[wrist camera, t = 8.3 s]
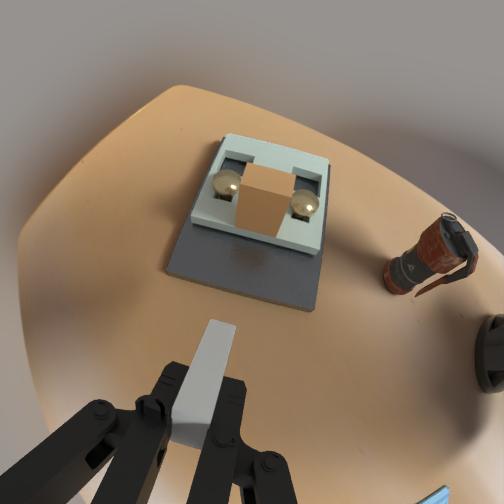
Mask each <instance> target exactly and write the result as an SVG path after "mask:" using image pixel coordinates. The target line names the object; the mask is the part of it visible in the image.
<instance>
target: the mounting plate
mask: <svg viewBox="0 0 504 504" xmlns="http://www.w3.org/2000/svg"><path fill="white" fill-rule="evenodd" d="M225 138H226V137H223V139H222V141H221V143H220V145H219V147H218V149H217V151H216V153H215V155H214V157H213V159H212V162H211V164H210V166H209V168H208V170H207V172H206V174H205V177H204V179H203V181H202V183H201V186H200V188H199V190H198V192H197V195H196V197H195V199H194V202H193V204H192V206H191V209H190V211H189V213H188V216H187V218H186V221H185V223H184V225H183V228H182V230H181V233H180V235H179V238H178V240H177V243H176V245H175V248H174V251H173V253H172V256H171V258H170V261H169V264H168V266H167V269H166V272H167V274H168V275H170V276H173V277H176V278H180V279H183V280H187V281H190V282H194V283H197V284H201V285H204V286H208V287H211V288H215V289H219V290H222V291H226V292H230V293H234V294H237V295H241V296H245V297H249V298H253V299H257V300H261V301H265V302H269V303H273V304H277V305H281V306H285V307H289V308H293V309H298V310H302V311H306V312H312V311H313V310H314V308H315V302H316V296H317V289H318V282H319V275H320V268H321V260H322V252H323V244H324V235H325V226H326V216H327V205H328V194H329V181H330V165H329V164H328V174H327V187H326V198H325V208H324V218H323V227H322V236H321V244H320V250H319V251H318V253H317V254H316V255H313V254H309V253H306V252H302V251H298V250H295V249H291V248H287V247H283V246H280V245H276V244H272V243H268V242H265V241H261V240H257V239H253V238H249V237H245V236H242V235H238V234H234V233H230V232H226V231H222V230H218V229H215V228H211V227H207V226H203V225H199V224H195V223H192V222H191V213H192V211H193V209H194V206H195V204H196V201H197V199H198V197H199V194H200V192H201V190H202V188H203V185H204V183H205V181H206V178H207V176H208V174H209V172H210V170H211V167H212V165H213V163H214V161H215V159H216V157H217V154H218V152H219V150H220V148H221V146H222V144H223V142H224V140H225ZM246 165H247V162H244V161H240V160H235V159H231V158H227V157H225V159H224V161H223V163H222V165H221V168H220V170H219V171H218V172H217V173H216V174H215V175H214V176H213V179H212V187H213V190H214V191H215V192H216V193H217V196H216V199H220V200H224V201H228V202H232V199H233V196H234V195H235V194H237V193H238V192H239V186H240V182H241V177H242V176H243V173H244V170H245V168H246ZM240 176H241V177H240ZM318 185H319V182H318V181H315V180H311V179H308V178H305V177H301V176H298V175H296V178H295V184H294V189H293V190H295V192H294V193H293V194H292V199H291V201H290V207H291V209H292V214H291V218H293V219H297V220H300V221H304V222H307V217H311V216H313V215H314V214H315V213H316V211H317V209H318V208H319V200H318V198H317V194H318Z"/></svg>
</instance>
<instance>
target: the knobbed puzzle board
mask: <svg viewBox="0 0 504 504" xmlns="http://www.w3.org/2000/svg"><path fill="white" fill-rule="evenodd" d="M225 157H227V158H231V159H235V160H240V161H244V162H247V165H246V168H245V170H244V173H243V176H242V177H241V176H240V177H241V182H240V186H239V192H238V193H237V194H235V195H234V196H233V199H232V202H228V201H224V200H220V199H216V196H217V193H216V192H215V191H214V190H213V187H212V179H213V176H214V175H215V174H216V173H217V172H218V171H219V170H220V168H221V165H222V163H223V161H224V159H225ZM328 160H329V159H326V158H323V157H319V156H316V155H313V154H309V153H306V152H303V151H299V150H296V149H292V148H289V147H285V146H281V145H277V144H273V143H269V142H265V141H261V140H257V139H253V138H249V137H244V136H240V135H235V134H230V133H228V134H227V136H226V138H225V140H224V142H223V144H222V146H221V148H220V150H219V152H218V154H217V157H216V159H215V161H214V163H213V165H212V167H211V170H210V172H209V174H208V176H207V178H206V181H205V183H204V185H203V188H202V190H201V192H200V194H199V197H198V199H197V201H196V204H195V206H194V209H193V211H192V213H191V222H192V223H195V224H199V225H203V226H207V227H211V228H215V229H218V230H222V231H226V232H230V233H234V234H238V235H242V236H245V237H249V238H253V239H257V240H261V241H265V242H268V243H272V244H276V245H280V246H283V247H287V248H291V249H295V250H298V251H302V252H306V253H309V254H313V255H316V254H317V253H318V251H319V250H320V244H321V236H322V227H323V218H324V208H325V198H326V187H327V174H328ZM296 175H298V176H301V177H305V178H308V179H311V180H315V181H318V182H319V185H318V194H317V198H318V200H319V208H318V209H317V211H316V213H315V214H314V215H313V216H311V217H307V222H304V221H300V220H297V219H293V218H291V214H292V209H291V207H290V201H291V199H292V194H293V193H294V192H295V190H293V189H294V184H295V178H296Z"/></svg>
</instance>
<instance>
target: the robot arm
mask: <svg viewBox="0 0 504 504" xmlns="http://www.w3.org/2000/svg"><path fill="white" fill-rule="evenodd" d="M236 328H237V326H236V325H232V324H228V323H225V322H221V321H218V320H214V319H210V321H209V324H208V326H207V328H206V330H205V333H204V335H203V337H202V340H201V342H200V344H199V347H198V349H197V351H196V354H195V356H194V358H193V361H192V363H191V365H190V367H189V366H186V365H183V364H180V363H177V362H174V361H172V362H171V363H169V364H168V365H167V366H165V368H164V370H163V371H162V373H161V376H160V377H159V379H158V382H157V383H156V385H155V387H154V388H153V390H152V392H151V394H150V395H144V396H141V397H139V398H138V399H137V400H136V401H135V404H136V410H122V409H115V407H114V406H113V405H112V404H111V403H110V402H108V401H106V400H101V399H98V400H93V401H91V402H89V403H88V404H87V405H86V406H85V407H83V408H82V409H81V410H80V411H79V412H77V413H76V414H75V415H74V416H73V417H71V418H70V419H69V420H68V421H67V422H65V423H64V424H63V425H62V426H61V427H59V428H58V429H57V430H56V431H55V432H53V433H52V434H51V435H50V436H49V437H47V438H46V439H45V440H44V441H43V442H41V443H40V444H39V445H38V446H36V447H35V448H34V449H33V450H31V451H30V452H29V453H28V454H27V455H25V456H24V457H23V458H22V459H20V460H19V461H18V462H17V463H16V464H14V465H13V466H12V467H11V468H9V469H8V470H7V471H6V472H4V473H3V474H2V475H1V476H0V504H66V503H67V502H68V501H70V499H71V498H73V497H74V496H75V495H76V494H77V493H78V492H79V491H80V490H81V489H82V488H83V487H84V486H85V485H86V484H87V483H88V482H89V481H90V480H91V479H92V478H93V477H94V476H95V475H96V474H97V473H98V472H99V471H100V470H101V469H102V468H103V467H104V466H105V464H106V463H107V462H108V461H109V460H110V459H111V458H112V457H113V456H114V457H113V459H112V461H111V463H110V465H109V467H108V469H107V471H106V473H105V475H104V477H103V479H102V482H101V484H100V486H99V488H98V490H97V492H96V494H95V496H94V498H93V500H92V502H91V504H147V502H148V500H149V497H150V494H151V492H152V489H153V486H154V484H155V481H156V478H157V475H158V473H159V470H160V467H161V465H162V462H163V459H164V457H165V454H166V451H167V444H168V442H169V439H170V440H171V441H174V442H177V443H180V444H184V445H187V446H190V447H194V448H197V449H201V450H202V451H201V454H200V458H199V461H198V465H197V468H196V472H195V475H194V479H193V482H192V486H191V489H190V493H189V496H188V499H187V503H186V504H228V502H229V496H230V491H231V486H232V483H234V484H236V485H238V486H239V487H240V494H241V501H242V504H298V503H297V499H296V496H295V492H294V488H293V484H292V480H291V476H290V472H289V469H288V465H287V462H286V460H285V458H284V457H283V456H282V455H281V454H279V453H276V452H274V451H265V452H259V451H257V450H255V449H253V448H251V447H249V446H247V445H246V444H245V443H244V442H243V440H242V439H241V436H240V426H241V420H242V415H243V409H244V403H245V397H246V391H247V389H246V386H245V383H244V381H241V380H237V379H233V378H229V377H225V376H224V372H225V368H226V365H227V361H228V357H229V354H230V350H231V346H232V342H233V339H234V335H235V331H236ZM475 366H476V373H477V378H478V381H479V384H480V386H481V387H482V389H483V390H484V391H485V392H487V393H490V394H491V393H499V392H502V391H504V314H497V315H494V316H492V317H489V318H488V319H486V320H485V321H484V323H483V324H482V326H481V328H480V331H479V334H478V337H477V342H476V350H475Z"/></svg>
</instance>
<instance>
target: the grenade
mask: <svg viewBox="0 0 504 504" xmlns="http://www.w3.org/2000/svg"><path fill="white" fill-rule="evenodd" d="M443 214H449V215H452V216H453V217H455V218H453V217H451V216H443ZM466 260H467V265H466V266H465V267H463V268H461V269H459V270H458V271H456V272H454V273H452V274H451V275H445V276H443V277H441V278H440V279H438V280H436V281H434V282H433V283H431V284H429V285H427V286H425V287H424V288H422V289H421V290H419V291H418V292H417V294H416V295H415V297H417V296H419V295H421V294H423V293H425V292H427V291H429V290H431V289H433V288H434V287H436V286H438V285H440V284H448V283H451V282H454V281H457V280H460V279H463V278H466V277H468V276H469V275H471V274H472V273H473V272H474V271H475V268H476V267H475V266H476V264H477V261H478V248H477V246H476V244H475V242H474V240H473V238H472V236H471V235H470V233H469V231H465V230H464V228H463V227H462V225H461V224H460V223H459V222H458V221H457V217H456V216H455V215H453V214H451V213H447V212H444V213H442V214H441V217H440V218H438V219H437V220H436V221H435V222H434V223H433V224H432V225H430V226H429V227H428V228H427V229H426V230H425V231H423V233H422V234H421V236H420V239H419V241H418V243H417V244H416V245H415V246H414V247H412V248H411V249H410V250H408V251H405V252H404V253H403V255H402V256H401V257H396V258H394V259H392V260H391V261H390V262H388V263H387V265H386V266H385V269H384V281H385V284H386V286H387V287H388V289H389V290H390V291H392V292H393V293H396V294H398V295H404V294H406V293H408V292H410V291H412V290H413V289H414V288H415V286H416V285H417V284H420V283H423V282H424V281H425V280H426V279H428V278H429V277H431V276H433V275H434V274H436V273H440V274H444V273H447V272H449V271H450V270H452V269H454V268H455V267H457V266H458V265H460V264H462V263H463V262H465V261H466Z"/></svg>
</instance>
